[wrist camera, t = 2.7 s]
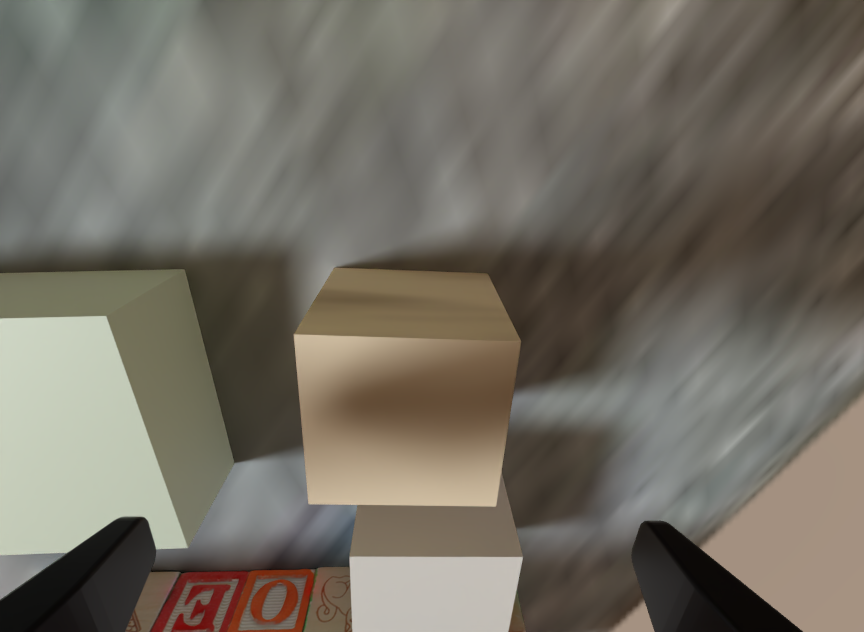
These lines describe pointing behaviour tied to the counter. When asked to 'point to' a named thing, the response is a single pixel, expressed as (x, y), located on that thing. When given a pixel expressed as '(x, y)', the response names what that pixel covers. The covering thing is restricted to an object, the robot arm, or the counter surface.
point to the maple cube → (405, 388)
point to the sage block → (104, 409)
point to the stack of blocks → (253, 602)
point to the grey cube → (434, 567)
